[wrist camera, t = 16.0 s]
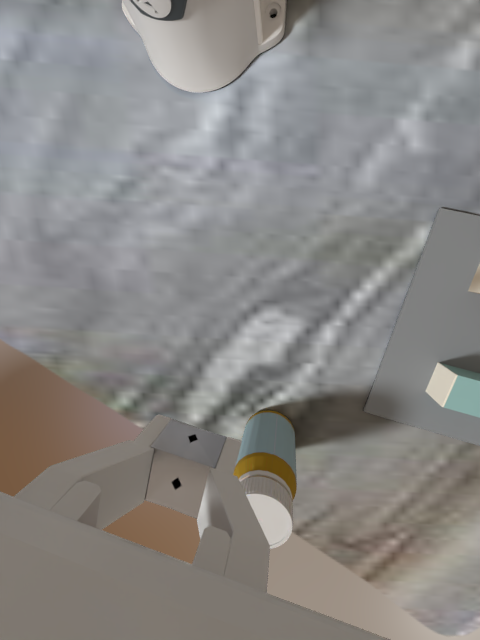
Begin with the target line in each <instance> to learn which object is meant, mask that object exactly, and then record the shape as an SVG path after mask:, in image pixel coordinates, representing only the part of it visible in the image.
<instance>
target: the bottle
mask: <svg viewBox="0 0 480 640" xmlns="http://www.w3.org/2000/svg"><path fill="white" fill-rule="evenodd" d="M233 475H234V476H237V477H238V479H239V481H240V483H241V485H242V487H243V490H244V492H245V494H246V496H247V498H248V500H249V502H250V504H251V507H252V509H253V511H254V513H255V515H256V517H257V519H258V521H259V524H260V526H261V528H262V530H263V532H264V534H265V536H266V538H267V541H268V543H269V545H270V549H271V548H275V547H278V546H280V545H282V544H283V543H285V542H286V541H287V539H288V538H289V536H290V534H291V532H292V528H293V506H292V501H293V499H294V497H295V493H296V452H295V433H294V428H293V425H292V423H291V422H290V421H289V419H288V418H287V417H285V416H284V415H282V414H281V413H279V412H276V411H271V410H266V411H260V412H258V413H255V414H254V415H253V416H252V417H250V419H249V420H248V422H247V424H246V427H245V430H244V434H243V438H242V443H241V447H240V451H239V454H238V458H237V462H236V466H235V469H234V473H233Z"/></svg>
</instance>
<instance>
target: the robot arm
mask: <svg viewBox="0 0 480 640" xmlns="http://www.w3.org/2000/svg"><path fill="white" fill-rule="evenodd" d="M286 1H287V0H122V9H123V12H124V14H125V16H126V18H127V19H128V21H129V23H130V24H131V25H132V27H133V28H134V29H135V30H136V31H137V32H138V33H139V34H140V36H141V38H142V40H143V43H144V45H145V48H146V50H147V53H148V55H149V58H150V60H151V62H152V64H153V65H154V67H155V68H156V70H157V71H158V72H159V74H160V75H161V76H162V77H163V78H164V79H165V80H166V81H168V82H169V83H170V84H172V85H173V86H175V87H177V88H179V89H182V90H185V91H189V92H198V93H200V92H209V91H213V90H216V89H219V88H221V87H223V86H225V85H227V84H229V83H230V82H232V81H233V80H234V79H236V78H237V77H238V76H239V75H240V74H241V73H242V72H243V71H244V70H245V69H246V67H247V66H248V65H249V64H250V63H251V62H252V60H253V59H254V58H255V57H256V56H257V55H258V54H260V53H262V52H264V51H266V50H268V49H270V48H271V47H273V46H275V45H276V44H277V43H278V42H280V40H281V39H282V38H283V35H284V31H285V17H286ZM273 14H276V15H277V16H276V17H275V18H271V15H273ZM241 443H242V442H241V440H237V439H234V438H230V437H225V436H222V435H219V434H216V433H212V432H209V431H206V430H202V429H199V428H197V427H195V426H192V425H189V424H186V423H183V422H180V421H177V420H174V419H171V418H168V417H165V416H162V415H157V416H155V417H154V419H153V420H152V421H151V422H150V423H149V424H148V425H147V426H146V428H145V429H144V430H143V431H142V432H141V433H140V434H139V436H138V437H137V438H136V439H135V440H134V441H130V440H128V441H125V442H122V443H119V444H116V445H113V446H110V447H107V448H104V449H101V450H98V451H95V452H92V453H88V454H85V455H83V456H79V457H76V458H73V459H70V460H67V461H64V462H61V463H58V464H55V465H52V466H49V467H48V468H47V469H46V470H45V471H44V472H42V473H41V474H40V475H39V476H38V477H37V478H35V479H34V480H33V481H32V482H30V483H29V484H28V485H27V486H26V487H25V488H23V489H22V490H21V491H20V492H19V493H17V494H16V495H15V496H14V497H12V496H10V495H7V494H5V493H2V492H0V640H390V639H387V638H384V637H381V636H379V635H377V634H374V633H371V632H369V631H366V630H363V629H360V628H358V627H355V626H353V625H350V624H347V623H344V622H342V621H339V620H337V619H334V618H332V617H329V616H326V615H324V614H321V613H318V612H316V611H313V610H310V609H308V608H305V607H302V606H300V605H297V604H294V603H292V602H289V601H286V600H284V599H281V598H278V597H276V596H273V595H270V594H268V593H267V581H268V567H269V553H270V545H269V543H268V541H267V538H266V536H265V534H264V532H263V530H262V528H261V526H260V524H259V521H258V519H257V517H256V515H255V513H254V511H253V509H252V507H251V504H250V502H249V500H248V498H247V496H246V494H245V492H244V490H243V487H242V485H241V483H240V481H239V479H238V477H237V476H234V475H233V473H234V469H235V466H236V462H237V458H238V454H239V451H240V447H241ZM144 500H146V501H149V502H152V503H155V504H159V505H161V506H165V507H168V508H171V509H173V510H176V511H178V512H181V513H183V514H186V515H188V516H191V517H194V518H196V519H197V523H198V529H199V534H200V539H201V540H200V543H199V546H198V549H197V552H196V555H195V558H194V561H193V564H189V563H187V562H184V561H182V560H179V559H176V558H174V557H171V556H168V555H166V554H163V553H161V552H158V551H155V550H152V549H150V548H147V547H145V546H142V545H139V544H137V543H134V542H131V541H129V540H126V539H124V538H121V537H118V536H116V535H113V534H110V533H108V532H105V531H102V529H103V528H105V527H106V526H108V525H109V524H111V523H113V522H114V521H115V520H117V519H119V518H120V517H122V516H123V515H125V514H126V513H128V512H129V511H131V510H132V509H134V508H135V507H137V506H138V505H140V504H141V503H143V502H144Z"/></svg>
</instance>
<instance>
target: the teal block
mask: <svg viewBox="0 0 480 640" xmlns="http://www.w3.org/2000/svg"><path fill="white" fill-rule="evenodd" d="M426 392H427V393H428V394H429V395H430V396H431V397H432V398H433V399H434V400H435V401H436V402H437V403H438V404H439V405H440V406H441V407H444V408H447V409H451V410H454V411H458V412H462V413H465V414H469V415H472V416H476V417H479V418H480V373H476V372H472V371H468V370H465V369H461V368H457V367H453V366H450V365H446V364H442V363H437V365H436V367H435V370H434V372H433V375H432V377H431V379H430V382H429V384H428V386H427V389H426Z"/></svg>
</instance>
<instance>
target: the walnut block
mask: <svg viewBox="0 0 480 640" xmlns="http://www.w3.org/2000/svg"><path fill="white" fill-rule="evenodd" d="M468 291H470V292H474V293H478V294H480V264H479V266H478V268H477V271H476V273H475V275H474V278H473V280H472V283H471V285H470V287H469V290H468Z"/></svg>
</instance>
